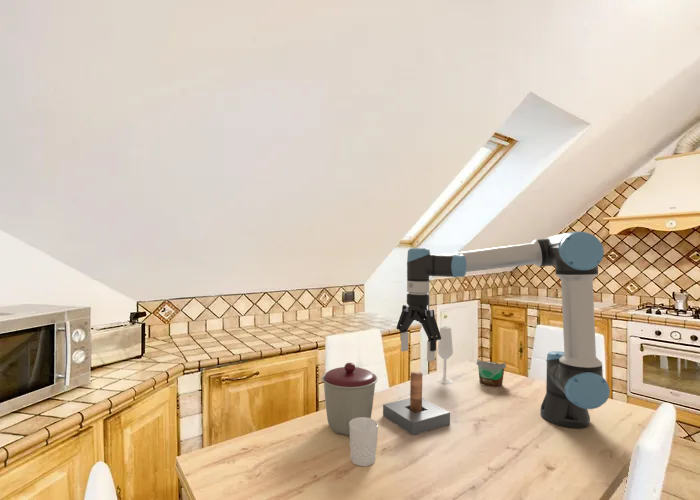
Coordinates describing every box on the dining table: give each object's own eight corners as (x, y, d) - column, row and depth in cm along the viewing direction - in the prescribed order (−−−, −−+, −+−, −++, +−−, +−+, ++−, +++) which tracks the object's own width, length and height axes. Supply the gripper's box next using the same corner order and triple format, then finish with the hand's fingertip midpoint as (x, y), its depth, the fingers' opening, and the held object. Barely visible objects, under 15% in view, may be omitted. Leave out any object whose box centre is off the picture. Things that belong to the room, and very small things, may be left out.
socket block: (449, 424, 127) (450, 412, 127) (412, 435, 119) (412, 422, 119) (418, 406, 141) (418, 396, 141) (382, 415, 133) (383, 404, 133)
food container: (473, 384, 166) (474, 361, 166) (476, 380, 171) (476, 358, 171) (504, 390, 160) (504, 366, 160) (505, 385, 165) (506, 362, 165)
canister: (329, 413, 134) (330, 353, 134) (380, 418, 131) (381, 357, 131) (313, 438, 117) (315, 369, 117) (372, 445, 113) (373, 374, 113)
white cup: (349, 451, 109) (349, 416, 109) (376, 452, 109) (377, 417, 109) (348, 467, 101) (348, 429, 101) (377, 468, 101) (378, 430, 101)
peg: (424, 421, 130) (424, 374, 130) (415, 423, 127) (415, 375, 127) (416, 416, 133) (417, 370, 133) (407, 418, 131) (408, 372, 131)
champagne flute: (446, 377, 174) (447, 325, 174) (455, 382, 168) (456, 328, 168) (434, 379, 172) (434, 326, 172) (442, 384, 165) (443, 329, 165)
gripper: (387, 290, 139) (386, 348, 139) (435, 298, 117) (434, 366, 118) (403, 289, 143) (402, 345, 143) (452, 296, 121) (452, 363, 121)
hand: (417, 355), depth 130 cm, fingers open, 13 cm apart
